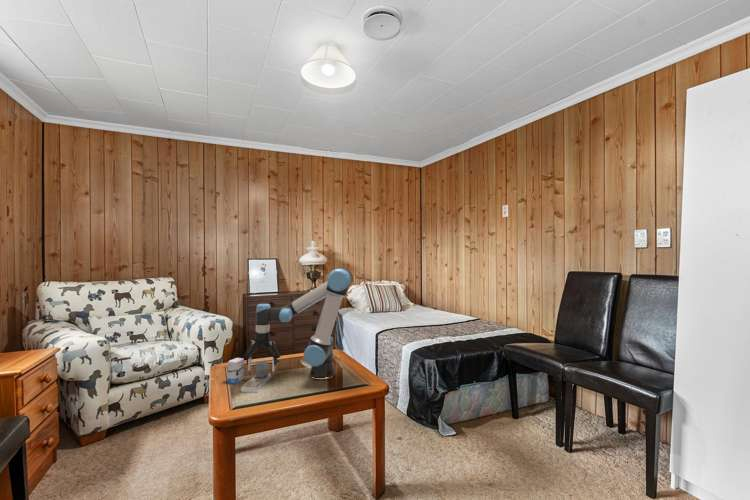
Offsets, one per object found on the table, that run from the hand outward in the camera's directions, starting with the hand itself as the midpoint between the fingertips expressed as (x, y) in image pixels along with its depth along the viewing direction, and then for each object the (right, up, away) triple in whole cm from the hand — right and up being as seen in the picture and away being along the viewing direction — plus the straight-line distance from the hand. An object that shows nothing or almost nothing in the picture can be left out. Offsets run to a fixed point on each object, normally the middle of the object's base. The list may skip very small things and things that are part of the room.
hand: (261, 370), depth 201 cm
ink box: (-14, -6, -1) cm, 15 cm away
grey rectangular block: (0, -6, 0) cm, 6 cm away
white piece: (0, -6, -7) cm, 9 cm away
